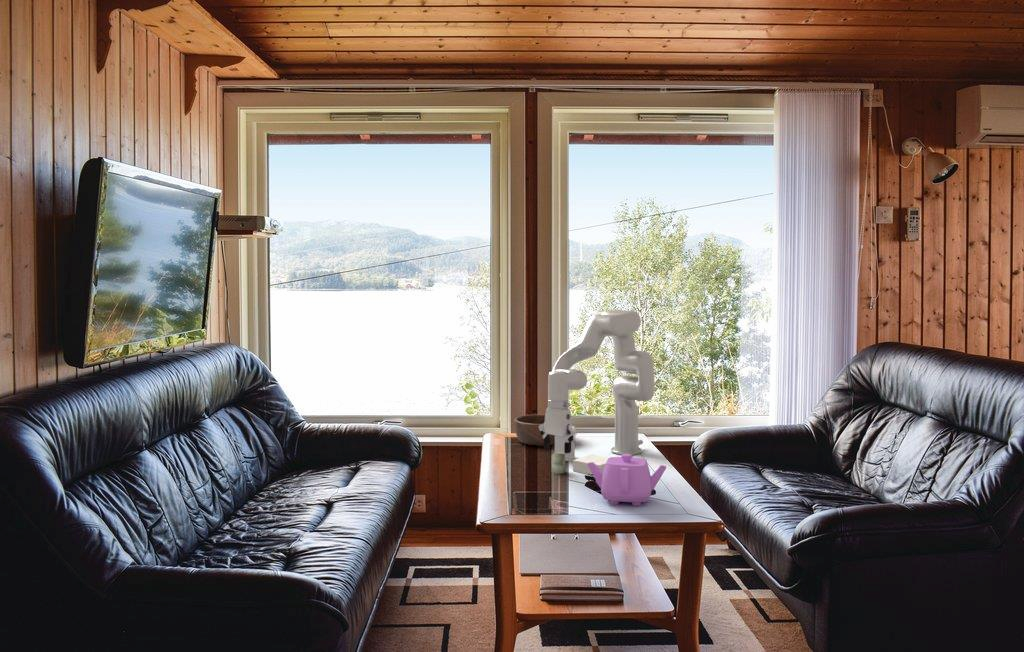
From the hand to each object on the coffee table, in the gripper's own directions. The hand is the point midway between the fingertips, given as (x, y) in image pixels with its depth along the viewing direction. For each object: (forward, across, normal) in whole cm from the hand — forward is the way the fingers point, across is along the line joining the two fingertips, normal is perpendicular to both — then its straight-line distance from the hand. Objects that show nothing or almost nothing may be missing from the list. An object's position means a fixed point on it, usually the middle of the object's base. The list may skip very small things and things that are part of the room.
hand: (557, 450), depth 276 cm
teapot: (+9, -39, +13) cm, 42 cm away
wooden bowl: (+7, +38, -38) cm, 54 cm away
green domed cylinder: (+8, 0, -1) cm, 8 cm away
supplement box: (+8, +11, -19) cm, 23 cm away
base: (+8, -9, -12) cm, 17 cm away
